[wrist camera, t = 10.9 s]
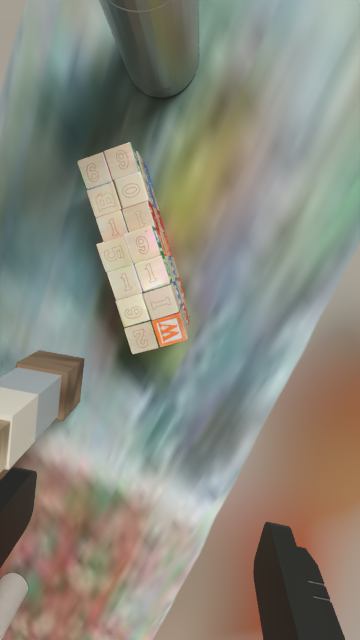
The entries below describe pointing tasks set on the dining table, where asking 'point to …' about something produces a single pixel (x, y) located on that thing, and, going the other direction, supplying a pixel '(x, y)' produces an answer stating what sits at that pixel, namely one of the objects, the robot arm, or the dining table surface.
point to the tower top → (18, 421)
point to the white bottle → (10, 598)
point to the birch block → (4, 442)
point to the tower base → (61, 366)
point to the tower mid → (41, 385)
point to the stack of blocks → (135, 249)
